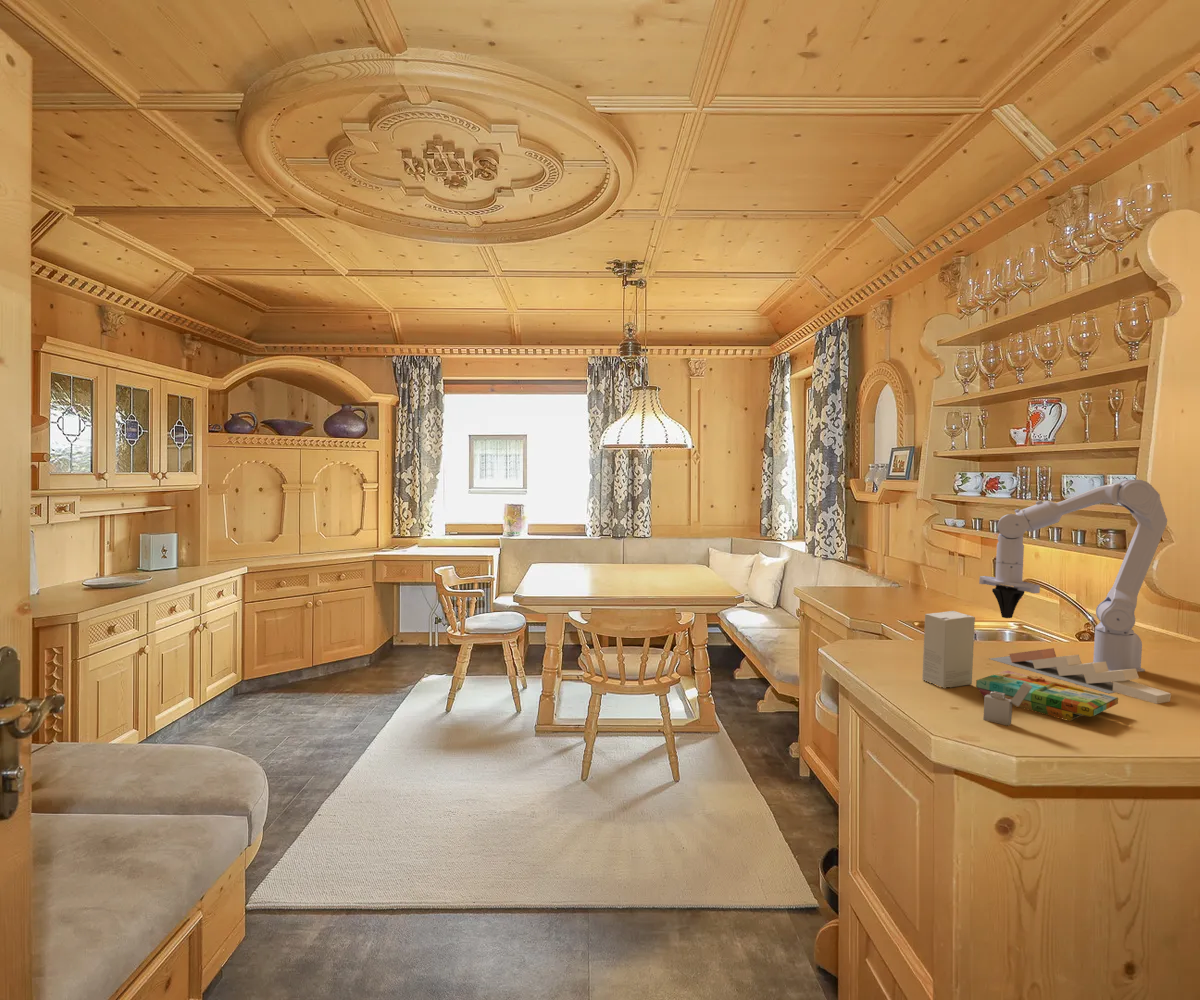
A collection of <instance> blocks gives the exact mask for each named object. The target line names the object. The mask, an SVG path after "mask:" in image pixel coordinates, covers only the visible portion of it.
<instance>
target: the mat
mask: <svg viewBox="0 0 1200 1000" xmlns="http://www.w3.org/2000/svg"><path fill="white" fill-rule="evenodd" d="M989 660H991V661H995V662H997V663H1001V664H1005V665H1007V666H1008V665H1009V666H1012V667H1016V668H1019V669H1022V670H1025V671H1030V672H1032V673H1036V674H1040V675H1044V676H1047V677H1050V678H1053V679H1056V680H1060V681H1064V682H1067V683H1069V684H1070V683H1071V684H1074V685H1077V686H1081V687H1084V688H1088V689H1091V690H1094V691H1095V690H1096V691H1098V692H1102V693H1104V694H1108V695H1109V694H1114V693H1116V692H1114V691H1112V690H1113V682H1102V683H1091V684H1087V683H1086V680H1085V677H1084V674H1078V675H1066V676H1059V674H1058V670H1057V667H1050V668H1040V669H1035V668H1034V665H1033V662H1032V660H1029V661H1020V662H1011V658H1010V655H1006V656H1000V657H999V656H998V657H991V658H989Z"/></svg>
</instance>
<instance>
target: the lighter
mask: <svg viewBox="0 0 1200 1000" xmlns="http://www.w3.org/2000/svg"><path fill="white" fill-rule="evenodd" d="M1031 688H1032V686H1031V685H1029V684H1028V683H1026V682H1024V683H1023V684H1022V686H1021V687H1020V688H1019V690H1018V691H1017V693H1016V694H1015V696H1014V697H1013V699H1012V700H1011V699H1006V698H1005V693H1001V692H996V691H994V692H990V695H985V696H983V699H984V700H983V701H984V702H983V718H982V719H983V721H987V722H989V723H990V722H991V723H995V724H1000V725H1004V726H1007V725H1008V726H1007V727H1009V726H1011V725H1012V715H1013V705H1012V703H1013V704H1014V705H1016V706H1017V707H1016V706H1015V707H1016V708H1019V707H1018V706H1019V705H1020V704H1021V703H1022V701H1023V700H1024V698H1025V697H1026V695H1027V694H1028V693H1029V691H1030V690H1031Z"/></svg>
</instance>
